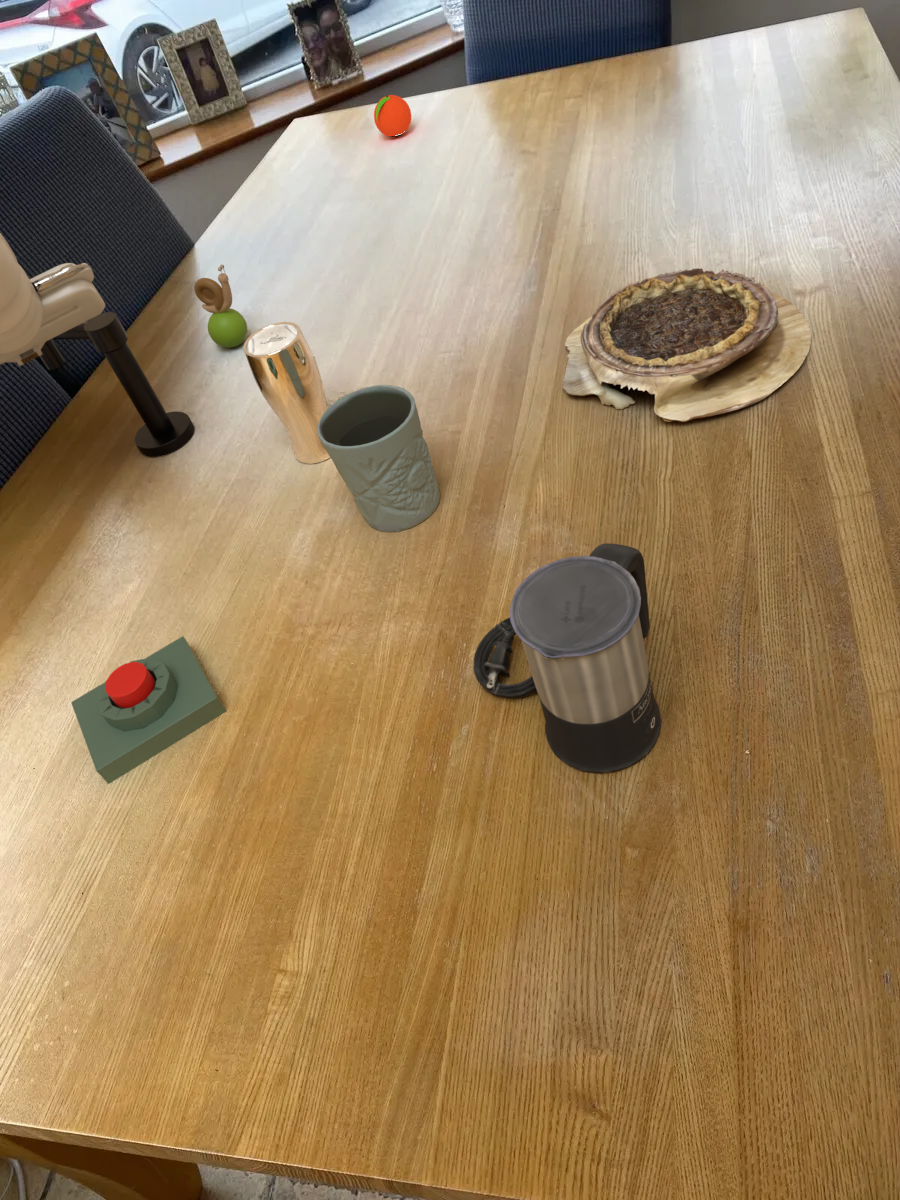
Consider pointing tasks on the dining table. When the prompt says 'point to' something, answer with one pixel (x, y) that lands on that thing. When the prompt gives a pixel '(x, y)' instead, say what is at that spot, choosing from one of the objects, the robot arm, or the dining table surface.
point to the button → (129, 684)
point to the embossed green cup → (382, 456)
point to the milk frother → (582, 657)
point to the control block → (148, 712)
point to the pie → (688, 344)
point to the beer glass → (290, 385)
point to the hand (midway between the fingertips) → (28, 354)
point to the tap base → (150, 408)
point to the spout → (88, 338)
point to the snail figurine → (221, 311)
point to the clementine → (392, 115)
